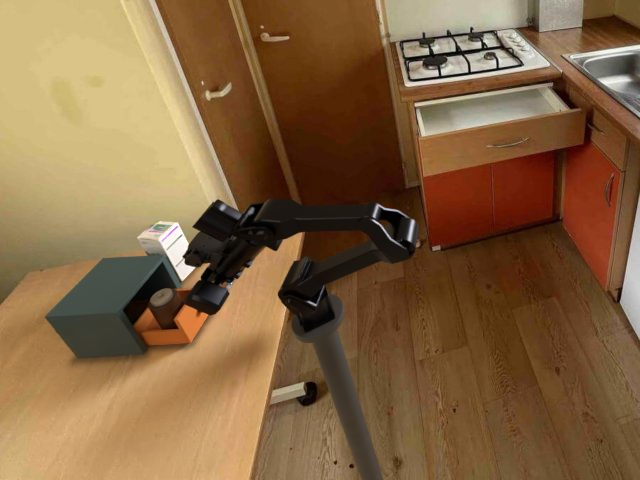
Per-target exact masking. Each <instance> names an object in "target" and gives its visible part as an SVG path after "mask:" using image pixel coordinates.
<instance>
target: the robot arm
mask: <svg viewBox="0 0 640 480" xmlns="http://www.w3.org/2000/svg"><path fill="white" fill-rule="evenodd" d="M380 221H382V222H383V221H384V222H388V223H387V224H385V226H383V225H382V224H381V223H380ZM191 228H192V229H195V230H196V231H198V232H197V233H196V235H195V236H194V237H193V238H192V240H191V241H190V242H188V244H189V245H188V249H187V251H186V252H185V254H184V255H183V256H182V257H183V258H184V259H185V261H184V263H185V264H186V265H188V266H192V267H195V268H196V269H197V268H198V269H199V268H201V267H202V266H203V265H204V264H207V265H208V266H206V268H205V269H204V270H203V272H202V274H201V275H200V279H198V280H197V281H196V282H195V284H194V285H193V286H192V287H191V288H192V289H191V290H190V292H189V293H188V294H187V296H186V297H185V299H184V300H183V301H184V305H187V306H189V307H191V308H194V309H196V310H199V311H201V312H203V313H206V314H208V316H211V317H212V316H214V315H217V313H218V312H220V311H221V309H222V307H223V306H224V304H225V303H226V301H227V299H228V298H229V296H230V289H231V288H232V286H233V285H234V283H235V281H236V280H238V279H240V277H241V276H242V274H243V272H245V270H246V269H250V267H251V266H252V265H253V263H254V261H255V259H256V258H257V257H258V256H259V255H260V254H261V253H262V252H263V251H264V250H265V249H266V248H268V249H269V250H271V251H273V252H277V251H278V250H279V249H280V247H281V244H282V243H283V241H284V240H287V239H289V238H291V237H294V236H295V235H298V234H300V233H317V232H318V233H319V232H320V233H321V232H344V231H345V232H346V231H347V232H348V231H349V232H351V231H352V232H353V231H354V232H355V231H360V232H362V233H363V234H364V235H366V236H368V237H369V239H368V240H366V241H364V242H361V243H359V244H356V245H354V246H352V247H350V248H347V249H345V250H343V251H340V252H338V253H336V254H334V255H332V256H331V255H330V256H329V257H327V258H325V259H322V260H320V261H317V260H314V259H311V258H310V256H308V255H307V256H304V257H302V258H301V259H297V260H293V262H292V264H291V265H290V267H289V269H288V271H287V273H286V275H285V277H284V279H283V281H282V283H281V285H280V288H278V291H277V297H278V299H279V300H280V302H281V304H282V306H284V307H285V308H286V309H287V310H288V311H289V312H290V313H291V314H292V315H296V316H297V318H298V321H299V324H300V326H302V325H303V329H304V332H305V333H307V332H309V331H311V330H313V329H315V328H317V327H319V326H321V325H323V324H325V323H327V322H329V321H331V320H333V319H335V317H336V316H335V313H334V310H333V307H332V304H331V300H330V297H329V296H328V294H329V292H328V290H327V285H328V284H331V283H333V282H335V281H338V280H340V279H343V278H345V277H347V276H350V275H352V274H354V273H357V272H359V271H361V270H364V269H366V268H368V267H370V266H371V267H372V266H373V265H375V264H378V263H381V262H383V263H386V264H390V265H394V264H398V263H401V262H405V261H409V260H411V259H412V258H414V256H415V253H416V250H417V244H418V238H419V232H420V224H419V223H418V221H416V220H415V219H413V218H411V217H410V216H408V215H406V214H405V213H404V212H402V211H400V210H399V209H396V208H388V207H385V206H383V205H381V204H379V202H375V201H368V202H366V203H360V204H359V203H358V204H323V205H320V204H319V205H316V204H315V205H307V204H306V205H305V204H301V203H300V202H298V201H297V200H295V199H288V198H278V197H273V198H269V199H267V200H265V201H259V202H252V203H249V204H248V205H247V207H246V208H245V210H244V211H243V212H242V211H240V210H238V209H236V208H234V207H233V206H230V205H229V204H228V203H226V202H225V201H222V200H221V199H219V198H217V199H216V200H215V201H212V202H211V203H210V205H209V206H208V207H207V208H206V210H204V212H203V213H202V214H201V215H200V217H198V219H197V220H196V221H195V222H194V223H193V225H192V226H191ZM333 316H334V317H333ZM307 329H308V330H307Z"/></svg>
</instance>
